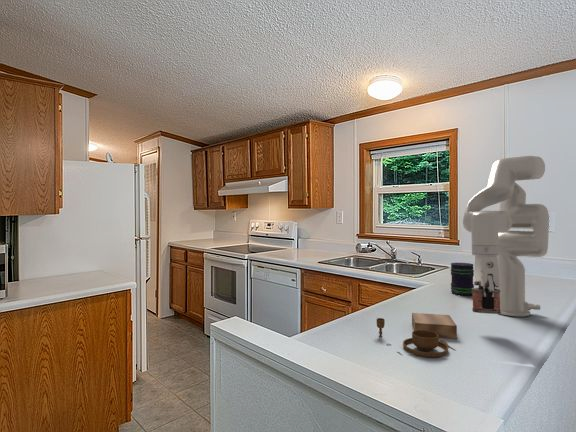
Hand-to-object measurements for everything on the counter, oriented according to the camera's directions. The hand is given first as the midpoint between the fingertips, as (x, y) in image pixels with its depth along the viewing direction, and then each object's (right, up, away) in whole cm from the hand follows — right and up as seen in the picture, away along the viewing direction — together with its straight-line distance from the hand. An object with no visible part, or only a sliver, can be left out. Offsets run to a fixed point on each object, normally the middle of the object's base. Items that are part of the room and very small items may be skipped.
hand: (486, 306), depth 112 cm
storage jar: (+19, -9, +53) cm, 57 cm away
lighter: (0, -2, 0) cm, 2 cm away
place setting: (-26, -9, -10) cm, 30 cm away
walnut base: (-17, -8, +2) cm, 19 cm away
